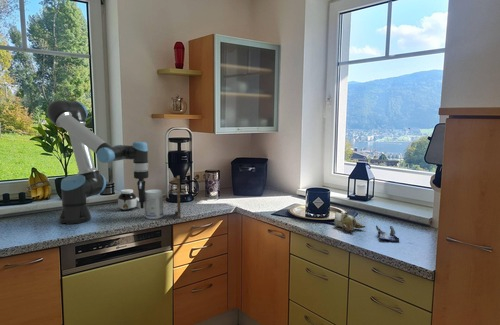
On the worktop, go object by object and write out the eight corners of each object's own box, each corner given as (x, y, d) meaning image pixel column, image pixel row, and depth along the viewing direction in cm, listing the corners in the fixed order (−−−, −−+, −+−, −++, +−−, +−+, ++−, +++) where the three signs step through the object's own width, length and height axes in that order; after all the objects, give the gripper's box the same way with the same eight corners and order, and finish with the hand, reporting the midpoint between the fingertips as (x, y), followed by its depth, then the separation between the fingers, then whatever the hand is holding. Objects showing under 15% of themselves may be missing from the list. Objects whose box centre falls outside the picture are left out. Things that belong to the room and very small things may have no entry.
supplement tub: (157, 214, 210) (157, 188, 208) (166, 217, 203) (166, 190, 201) (142, 217, 203) (141, 190, 201) (150, 220, 196) (150, 193, 195)
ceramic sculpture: (342, 207, 191) (367, 215, 179) (341, 223, 192) (365, 232, 180) (328, 210, 184) (353, 218, 172) (327, 226, 186) (351, 236, 174)
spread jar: (116, 210, 218) (115, 191, 216) (128, 206, 229) (127, 187, 227) (133, 212, 214) (133, 192, 213) (145, 207, 225) (144, 188, 224)
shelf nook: (171, 219, 200) (170, 178, 197) (171, 214, 209) (170, 175, 207) (180, 218, 201) (179, 178, 198) (180, 213, 210) (179, 175, 208)
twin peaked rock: (403, 237, 171) (377, 232, 178) (404, 224, 169) (377, 219, 176) (396, 249, 161) (369, 243, 168) (397, 236, 159) (369, 230, 166)
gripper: (147, 172, 193) (148, 216, 196) (149, 168, 205) (150, 210, 208) (132, 172, 191) (133, 217, 194) (135, 169, 204) (136, 211, 207)
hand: (142, 213), depth 201 cm, fingers closed
